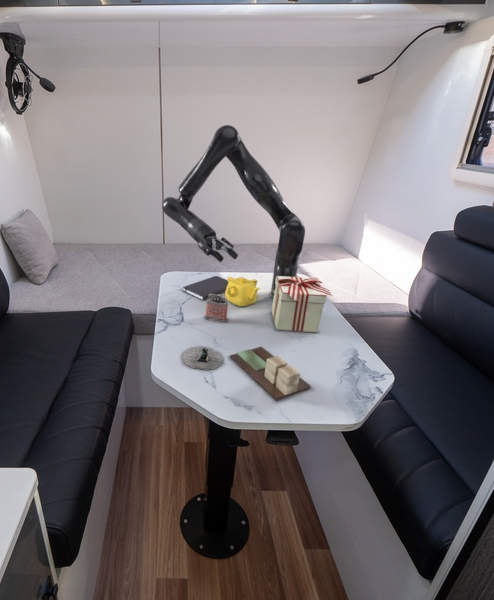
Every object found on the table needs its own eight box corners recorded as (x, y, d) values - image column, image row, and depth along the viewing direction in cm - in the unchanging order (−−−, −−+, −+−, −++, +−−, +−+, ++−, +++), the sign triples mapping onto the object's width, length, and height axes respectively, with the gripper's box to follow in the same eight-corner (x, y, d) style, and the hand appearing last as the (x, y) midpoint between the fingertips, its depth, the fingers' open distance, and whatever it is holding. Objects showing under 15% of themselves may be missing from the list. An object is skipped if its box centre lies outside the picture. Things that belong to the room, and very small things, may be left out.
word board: (261, 348, 121) (263, 330, 118) (310, 388, 103) (314, 368, 100) (229, 357, 116) (231, 338, 113) (276, 400, 98) (279, 380, 95)
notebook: (202, 300, 152) (236, 287, 165) (202, 296, 151) (237, 283, 164) (181, 290, 161) (215, 278, 173) (181, 287, 160) (216, 275, 173)
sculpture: (228, 367, 111) (213, 354, 107) (204, 386, 113) (189, 373, 108) (214, 344, 121) (200, 331, 117) (193, 362, 123) (178, 349, 118)
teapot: (259, 297, 156) (262, 274, 151) (258, 311, 144) (260, 286, 140) (226, 293, 158) (228, 271, 154) (222, 306, 147) (224, 282, 143)
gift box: (278, 336, 128) (286, 290, 120) (267, 311, 144) (273, 270, 137) (328, 337, 128) (338, 291, 120) (311, 312, 144) (319, 271, 137)
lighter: (227, 319, 138) (229, 294, 134) (225, 323, 135) (227, 298, 131) (206, 315, 140) (208, 291, 136) (204, 319, 138) (205, 294, 133)
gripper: (192, 224, 133) (222, 252, 126) (216, 222, 143) (246, 248, 136) (184, 241, 138) (212, 269, 131) (208, 238, 147) (236, 264, 141)
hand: (229, 258), depth 133 cm, fingers open, 8 cm apart
